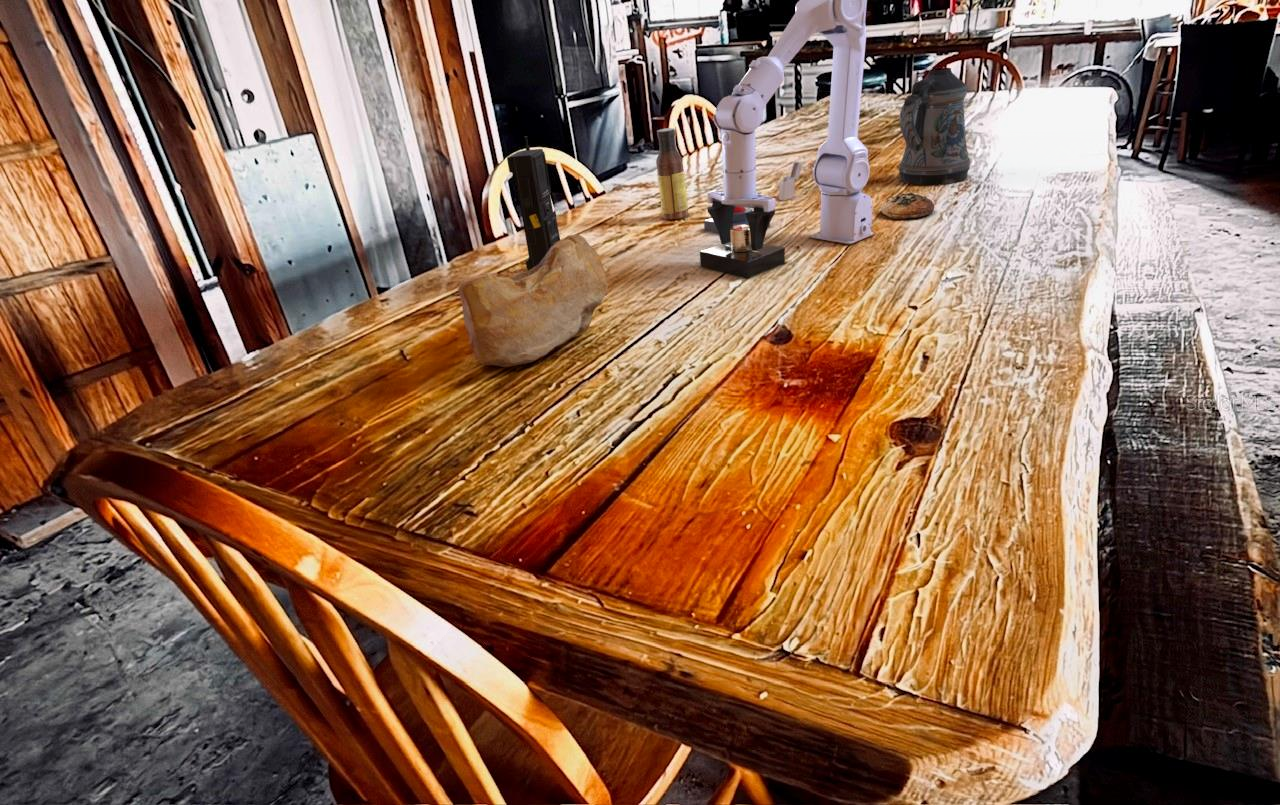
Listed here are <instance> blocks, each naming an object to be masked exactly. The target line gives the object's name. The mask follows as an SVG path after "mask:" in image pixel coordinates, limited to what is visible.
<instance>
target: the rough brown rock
mask: <svg viewBox="0 0 1280 805" xmlns="http://www.w3.org/2000/svg"><path fill="white" fill-rule="evenodd" d="M457 291H458V294H459V298H460V302H461V307H462V316H463V322H464V327H465V330H466V332H467V336H468V339H469V344H470V345H471V348H472V351H473V355H474V357H475V359H476V360H477V361H478V362H479V363H480V364H481V365H483V366H497V367H503V368H511V367H515V366H518V365H524V364H530V363H533V362H535V361H537V360H539V359H541V358H542V357H545V356H546V355H548V353H550V352H551V351H553V350H554V349H555V348H557V347H559V346H561V345H563V344H565V343H567V342H568V341H569V340H570V339H572V338H575V337H579V336H582V335H583V334H585V333H586V332H587V331H588V330H589V328H590V326H591V323H592V320H593V316H594V312H595V310H596V309H597V308H598V307H599V306H600V305H602V303H603V301H604V299H605V297H606V296H607V295H608V291H609V283H608V281H607V274H606V271H605V268H604V266H603V263H602V260H601V256H600V255H599V253H598V252H597V250H596V249H595V248H594V247H593V246H592V245H590V244H589V242H588V241H587V239H586V238H585V237H584V236H582V235H580V234H569V235H567V236H565V237H563V238H562V239H561V238H560V241H558V242H556V243H555V244H554V245H553V246H552V247H551V248H550V249H549V251H548V252H547V254H546V255H545V257H544V258H543V259H542V260H541V262H540V263H539V264H538V265H537V266H535V267H534V268H532V269H530V270H528V271H527V270H526V271H522V272H519V273H515V274H513V275H512V276H509V277H502V276H498V275H495V274H493V273H485V274H480V275H475V276H472V277H468V278H466V279H464V280H462V281H461V282H460V283H459V285H458V288H457Z"/></svg>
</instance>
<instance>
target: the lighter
mask: <svg viewBox="0 0 1280 805" xmlns="http://www.w3.org/2000/svg"><path fill="white" fill-rule="evenodd" d="M791 167H792V168H791V171H790V174H789V175H784V176H783V177H782V180H780V181H778V201H782V202H783V201H787V200H790V199H794V198H795V181H799V178H800V175H801V172H802V168H803V163H802V162H800V161H794V162H793V164H792V166H791Z"/></svg>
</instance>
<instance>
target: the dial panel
mask: <svg viewBox="0 0 1280 805" xmlns="http://www.w3.org/2000/svg"><path fill="white" fill-rule="evenodd" d="M785 263H786V248H785V247H784V246H778V245H774V244H767V243H763V247H762V249H759V250H756V251H753V250H750V251H747V252H733V251H731V242H729V243H727V244H722V243H719V244H717V245H714V246H711V247H708V248H706V249H703V250H699V264H700V267H701V268H705V269H708V270H711V271H716V272H721V273H725V274H728V275H732V276H737V277H741V278H745V279H750V278H752V277H755V276H757V275H760V274H763V273H765V272H767V271H770V270H772V269H775V268H777V267H779V266H782V265H784V264H785Z"/></svg>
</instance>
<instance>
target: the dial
mask: <svg viewBox="0 0 1280 805" xmlns="http://www.w3.org/2000/svg"><path fill="white" fill-rule="evenodd" d="M730 242H731V251H733V252H747V251H750V250H752V247H751V235H750V228H749V225H736V226H733V227H731V228H730Z"/></svg>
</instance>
